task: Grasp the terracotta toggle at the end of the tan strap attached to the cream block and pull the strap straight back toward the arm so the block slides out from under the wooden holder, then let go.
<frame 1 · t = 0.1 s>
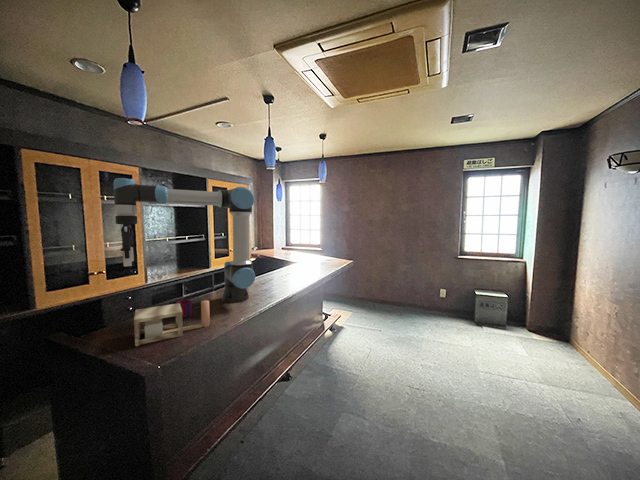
hand: (129, 263, 112), 28 cm above the table, fingers open, 13 cm apart
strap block: (154, 336, 104), on the table
mug: (181, 316, 125), on the table
wooden holder: (160, 334, 105), on the table
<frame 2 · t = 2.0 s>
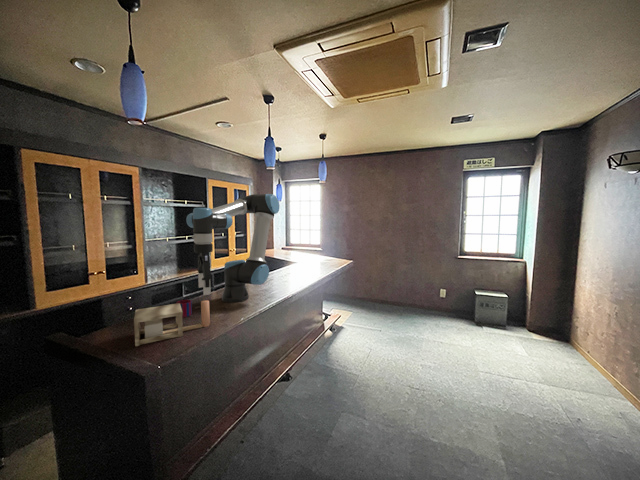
hand: (204, 290, 113), 16 cm above the table, fingers open, 13 cm apart
nothing on the table moved.
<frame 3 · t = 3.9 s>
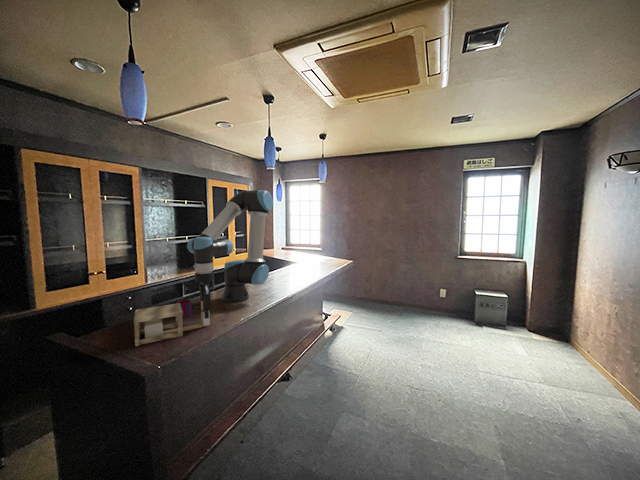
hand: (205, 323, 115), 1 cm above the table, fingers closed on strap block, 3 cm apart
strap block: (154, 335, 104), on the table, touching gripper
everything else where it was.
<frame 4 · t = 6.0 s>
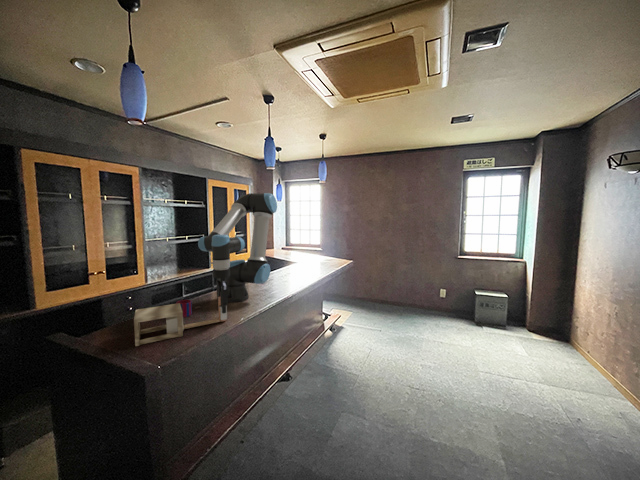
hand: (222, 317, 119), 2 cm above the table, fingers closed on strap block, 3 cm apart
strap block: (174, 329, 108), point 1 cm above the table, touching gripper
everything else where it was.
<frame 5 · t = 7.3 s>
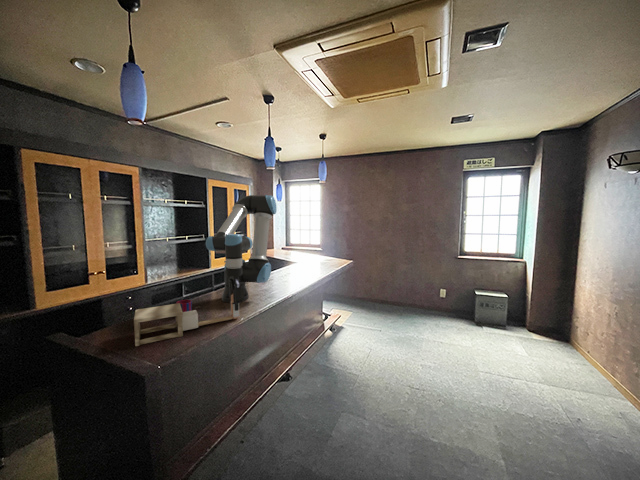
hand: (235, 315, 122), 2 cm above the table, fingers closed on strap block, 3 cm apart
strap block: (189, 326, 111), point 1 cm above the table, touching gripper
everything else where it was.
when the fingers open (1 cm above the table, at t = 8.1 s): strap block stays where it is, on the table.
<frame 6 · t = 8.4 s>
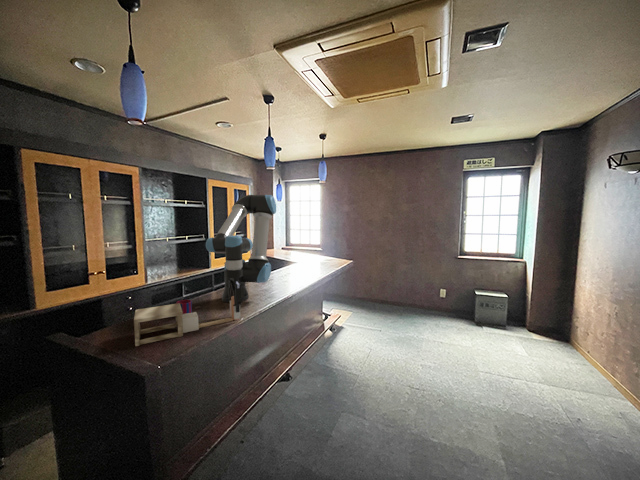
hand: (235, 315, 122), 2 cm above the table, fingers open, 7 cm apart
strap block: (190, 328, 111), on the table
everything else where it was.
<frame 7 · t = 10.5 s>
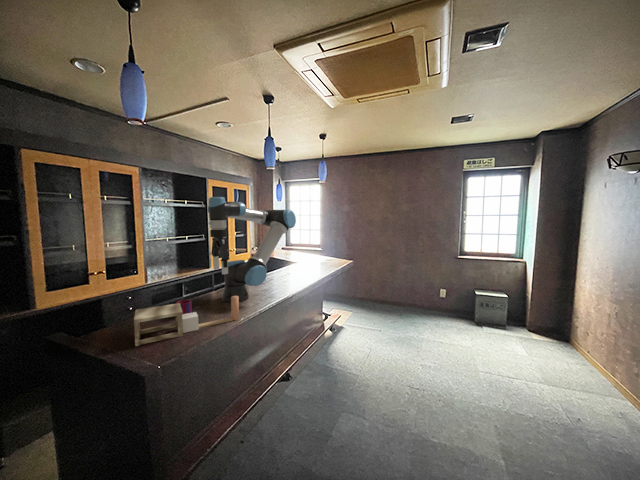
hand: (220, 271, 127), 22 cm above the table, fingers open, 13 cm apart
nothing on the table moved.
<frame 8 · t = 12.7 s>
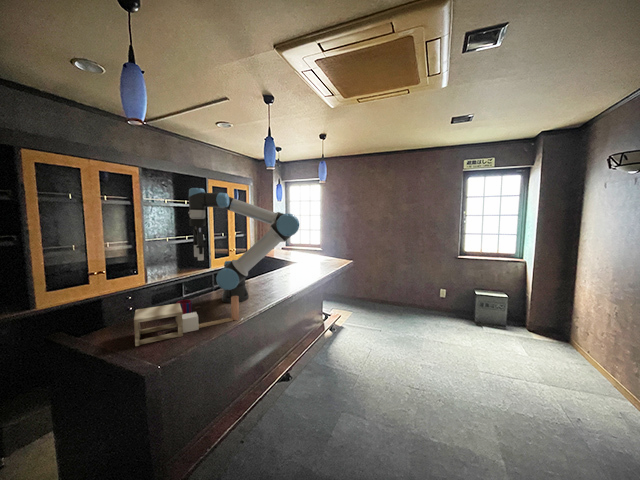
hand: (198, 258, 135), 27 cm above the table, fingers open, 13 cm apart
nothing on the table moved.
at the end: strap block inside the target area (1.9 cm from its centre), on the table; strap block moved 13.1 cm from its start; the gripper is holding nothing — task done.
